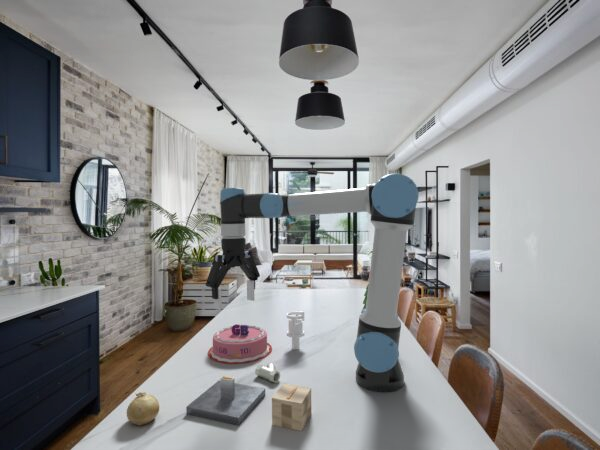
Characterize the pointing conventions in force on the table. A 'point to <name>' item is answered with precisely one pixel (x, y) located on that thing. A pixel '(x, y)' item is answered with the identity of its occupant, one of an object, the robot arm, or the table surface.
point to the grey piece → (226, 401)
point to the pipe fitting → (268, 372)
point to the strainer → (295, 328)
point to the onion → (142, 409)
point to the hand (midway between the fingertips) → (235, 304)
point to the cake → (239, 345)
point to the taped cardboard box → (291, 407)
